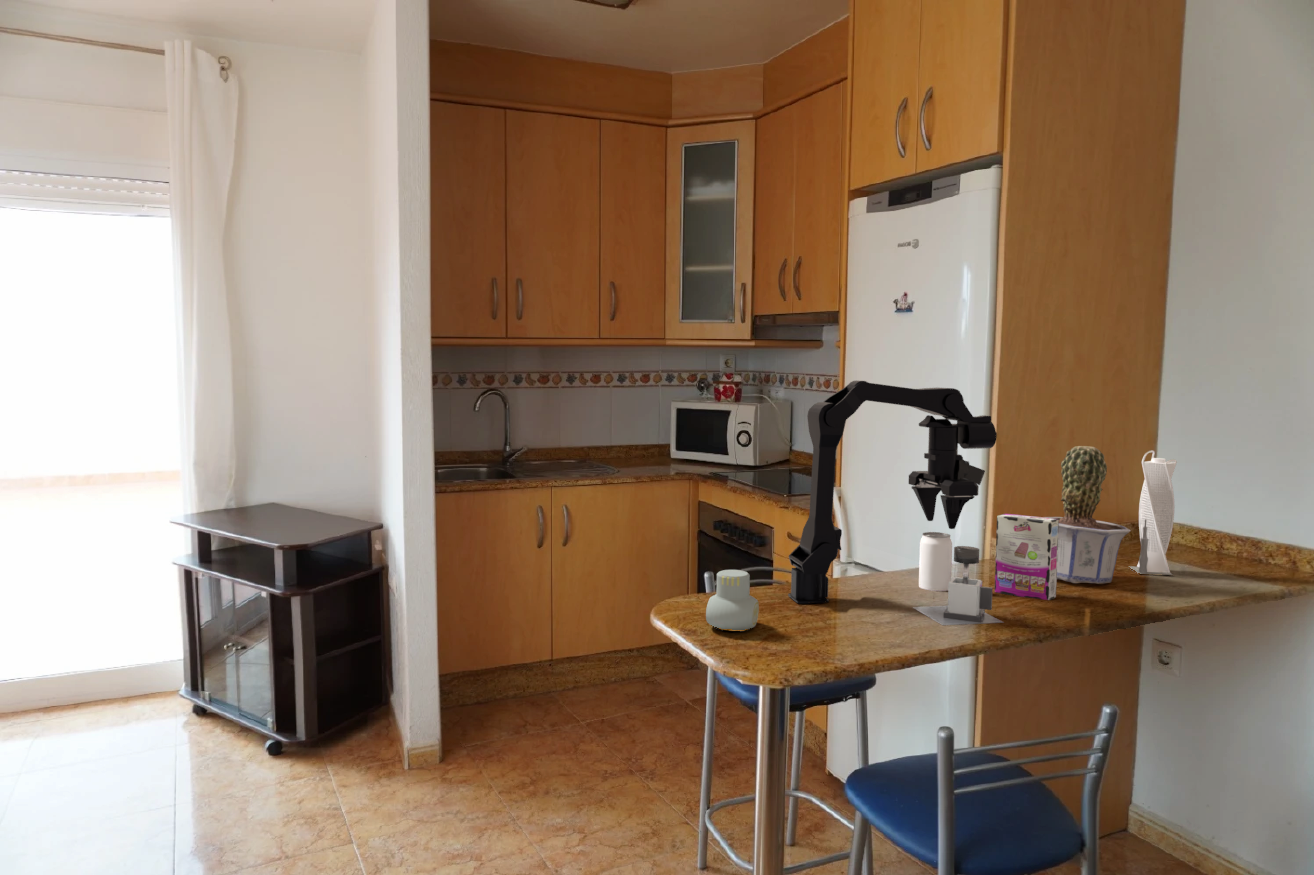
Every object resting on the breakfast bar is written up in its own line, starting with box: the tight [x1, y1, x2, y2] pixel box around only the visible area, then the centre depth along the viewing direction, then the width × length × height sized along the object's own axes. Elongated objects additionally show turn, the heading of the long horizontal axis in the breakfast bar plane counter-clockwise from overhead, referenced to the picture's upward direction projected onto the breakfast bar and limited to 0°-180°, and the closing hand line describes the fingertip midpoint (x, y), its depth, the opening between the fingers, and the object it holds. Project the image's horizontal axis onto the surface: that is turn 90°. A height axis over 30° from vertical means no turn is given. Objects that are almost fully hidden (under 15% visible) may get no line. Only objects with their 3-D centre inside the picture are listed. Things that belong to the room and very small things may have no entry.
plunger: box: [953, 545, 980, 584], centre depth 163 cm, size 4×4×8 cm
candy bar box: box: [994, 513, 1059, 601], centre depth 182 cm, size 11×5×16 cm, turn 47°
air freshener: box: [705, 569, 760, 630], centre depth 158 cm, size 11×8×10 cm
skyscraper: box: [1128, 449, 1178, 576], centre depth 203 cm, size 8×8×28 cm
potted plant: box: [1043, 445, 1132, 585], centre depth 195 cm, size 18×18×30 cm
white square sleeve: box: [944, 576, 994, 622], centre depth 163 cm, size 8×6×6 cm
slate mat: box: [911, 605, 1005, 626], centre depth 165 cm, size 12×12×1 cm
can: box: [918, 531, 953, 592], centre depth 185 cm, size 6×6×12 cm
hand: (940, 524), depth 181 cm, fingers open, 9 cm apart
